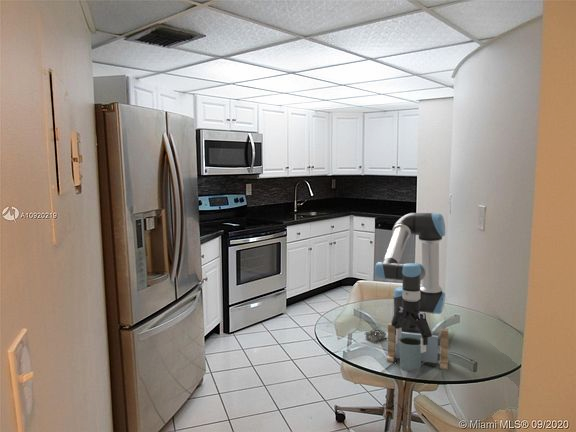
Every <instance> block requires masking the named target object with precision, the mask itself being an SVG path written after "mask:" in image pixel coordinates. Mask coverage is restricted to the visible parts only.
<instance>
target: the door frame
mask: <svg viewBox="0 0 576 432" xmlns="http://www.w3.org/2000/svg"><path fill="white" fill-rule="evenodd" d="M395 360H396V335H395V327H394V326H392V323H391V322H390V321H389V322H388V324H387V356H386V362H391V363H394V361H395ZM439 362H440V363H439V368H440V369H442V370H448V366H449V328H445V327H441V328H440V361H439Z"/></svg>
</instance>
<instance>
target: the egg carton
mask: <svg viewBox="0 0 576 432" xmlns="http://www.w3.org/2000/svg"><path fill="white" fill-rule="evenodd" d="M375 331H379V332H380V333H379V332H376V335H375ZM380 334H381V335H380ZM364 335H365V339H366V340H367V341H370V342H373V343H374V342H378V341H381V340H382V339H386V335H387V332H385V330H382V329H379V328H378V327H377V328H375V329H371V330H369V331H365V332H364Z"/></svg>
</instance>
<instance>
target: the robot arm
mask: <svg viewBox="0 0 576 432" xmlns="http://www.w3.org/2000/svg"><path fill="white" fill-rule="evenodd" d="M445 223H446V222H445V218H444V216H443V215H442V214H441V213H434V212H410V213H407V214H404V215H403V216H401V217H400V218H399V219H398V220H397V221H396V222H395V223H394V225H393V227H392V235H391V238H390V241H389V243H388V247H387V249H386V252H385V254H384V258H383V260H382V261H377V262H376V264H375V267H374V275H375V277H376V278H378V279H382V280H396V281H402V286H398V287H396V288H395V289H394V291H393V315H392V318H391V323H392V326H394V327H395V335H396V343H399V339H400V338H402V332H408V333H417V332H418V331H419V334H421V335H422V337H421V353H423V352H426V345H427V344H428V337H431V336H432V335H433V334H432V331H431V328H430V326H429V324H428V320H427V315H426V314H432V315H433V314H436V315H440V314H442V313H443V309H444V305H445V300H446V293H445V292H444V291H443V288H442V287H441V285H440V242H441V241H442V240H443V237H445V235H446V225H445ZM413 235H414V236H418V240H419V241H420V242H421V263H413V262H408V263H400V262H401V260H402V256H403V253H404V250H405V248H406V247H405V246H406V244H407V242H408V239H409V238H410V237H411V236H413ZM421 281H422V282H421ZM424 334H425V335H424Z"/></svg>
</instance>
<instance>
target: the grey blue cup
mask: <svg viewBox="0 0 576 432" xmlns="http://www.w3.org/2000/svg"><path fill="white" fill-rule="evenodd" d="M399 348H400V358H399V365H400V369H402V370H404V371H406V372H417V371H419V370H421V365H422V361H421V356H422V354H421V340H420V339H418V338H414V337H402V338H400V339H399Z"/></svg>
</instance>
